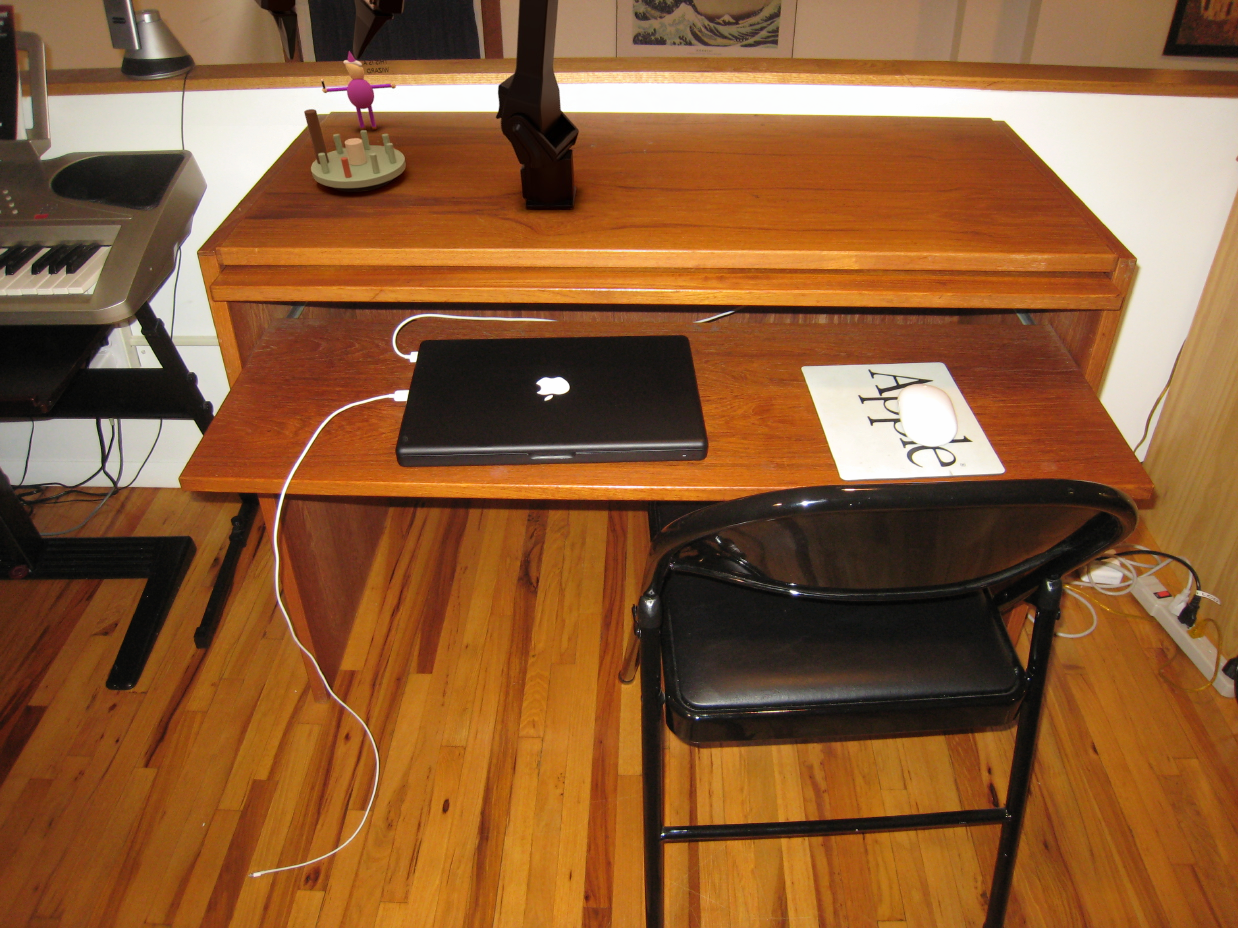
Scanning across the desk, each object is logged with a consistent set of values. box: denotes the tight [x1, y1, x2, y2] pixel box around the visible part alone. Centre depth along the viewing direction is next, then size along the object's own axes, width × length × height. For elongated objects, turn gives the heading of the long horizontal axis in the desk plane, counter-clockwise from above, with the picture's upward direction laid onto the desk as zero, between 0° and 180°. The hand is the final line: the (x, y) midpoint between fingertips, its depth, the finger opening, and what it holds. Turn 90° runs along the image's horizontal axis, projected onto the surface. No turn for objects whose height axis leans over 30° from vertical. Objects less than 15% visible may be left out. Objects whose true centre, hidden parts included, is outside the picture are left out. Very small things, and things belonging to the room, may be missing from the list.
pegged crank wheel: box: [303, 108, 407, 189], centre depth 114 cm, size 13×13×8 cm
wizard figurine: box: [320, 50, 397, 131], centre depth 128 cm, size 11×3×12 cm, turn 99°
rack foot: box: [332, 179, 393, 193], centre depth 117 cm, size 9×9×1 cm
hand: (323, 58), depth 108 cm, fingers open, 9 cm apart
